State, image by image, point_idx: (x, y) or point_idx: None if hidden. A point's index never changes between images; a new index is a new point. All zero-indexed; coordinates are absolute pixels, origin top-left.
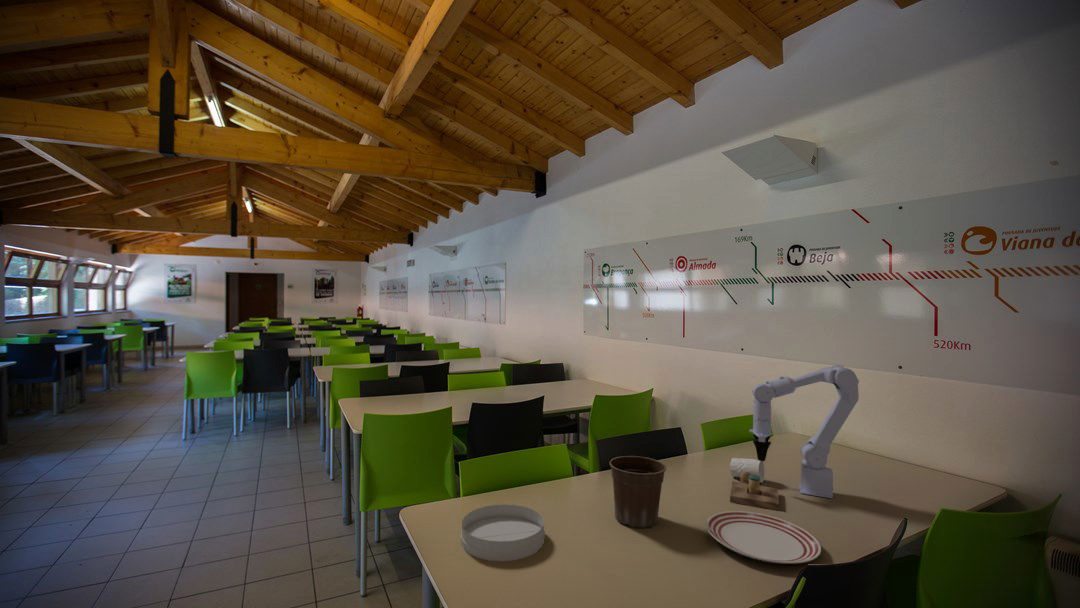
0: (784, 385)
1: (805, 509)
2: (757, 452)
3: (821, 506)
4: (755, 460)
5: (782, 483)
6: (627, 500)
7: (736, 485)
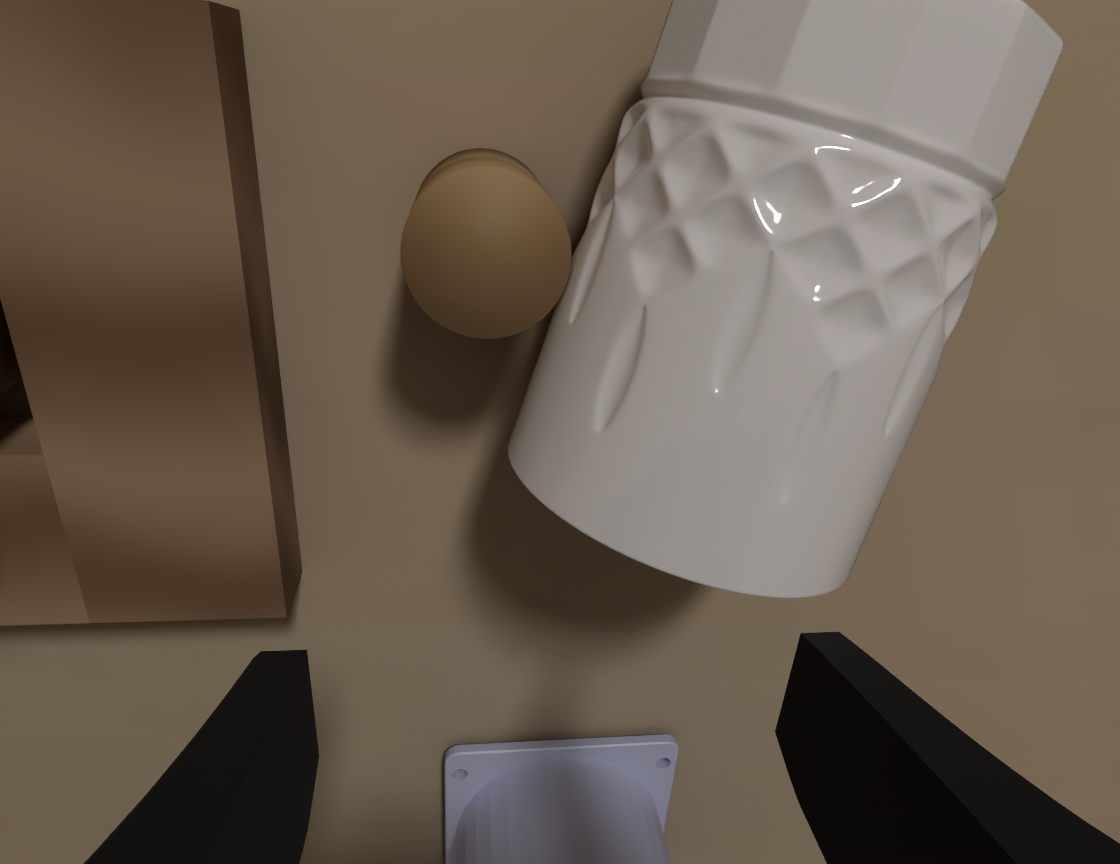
0: None
1: (15, 773)
2: (115, 839)
3: None
4: (731, 501)
5: (703, 611)
6: None
7: (12, 75)
